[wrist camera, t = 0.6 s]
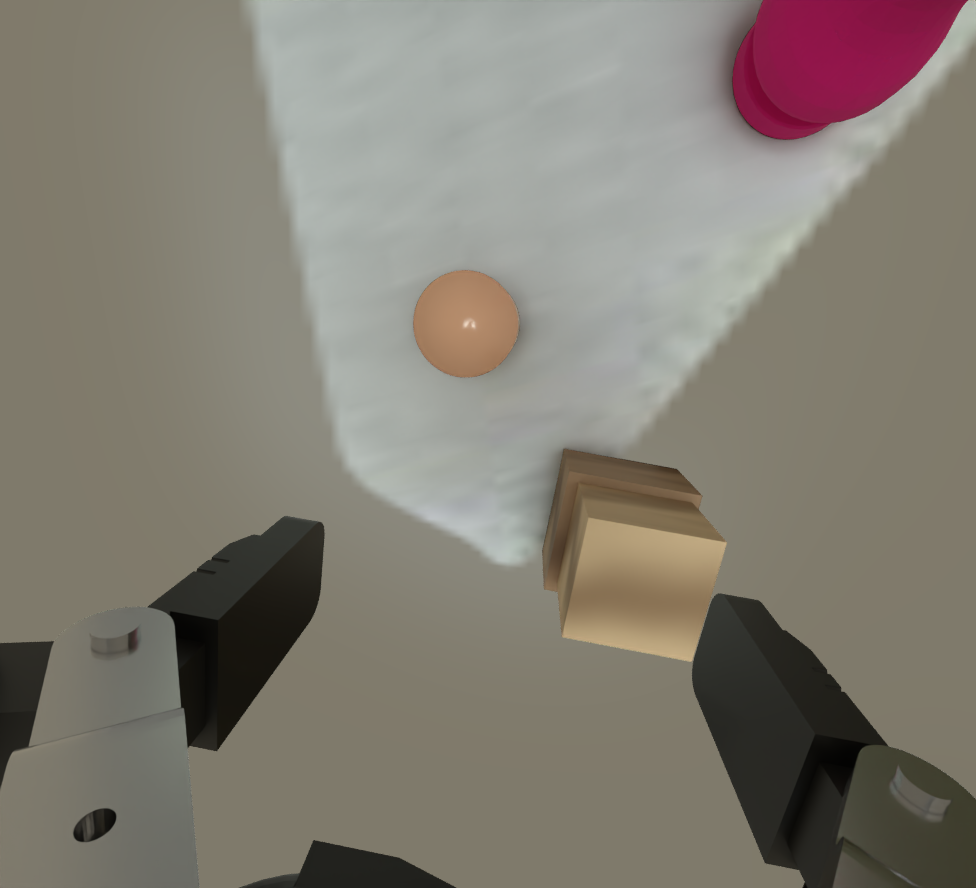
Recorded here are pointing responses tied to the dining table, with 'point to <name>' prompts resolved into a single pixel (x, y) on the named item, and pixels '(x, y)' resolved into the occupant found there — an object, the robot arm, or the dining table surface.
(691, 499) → the tower base
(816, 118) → the pepper mill
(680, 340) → the dining table surface
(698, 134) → the dining table surface
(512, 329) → the rounded stamp handle
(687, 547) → the tower top
